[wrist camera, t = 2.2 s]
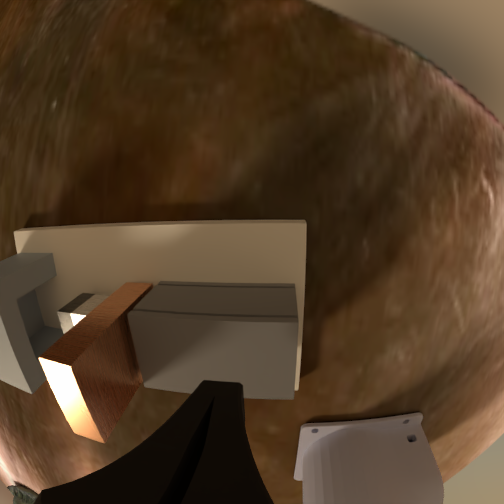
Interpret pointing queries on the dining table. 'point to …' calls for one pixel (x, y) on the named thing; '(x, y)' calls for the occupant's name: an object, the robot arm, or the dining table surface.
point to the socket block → (24, 319)
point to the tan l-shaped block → (95, 360)
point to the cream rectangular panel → (191, 295)
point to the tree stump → (22, 495)
